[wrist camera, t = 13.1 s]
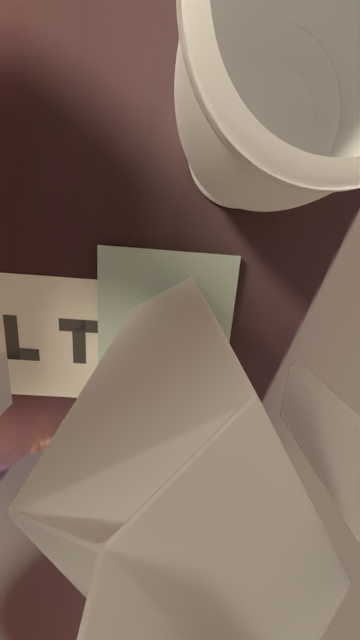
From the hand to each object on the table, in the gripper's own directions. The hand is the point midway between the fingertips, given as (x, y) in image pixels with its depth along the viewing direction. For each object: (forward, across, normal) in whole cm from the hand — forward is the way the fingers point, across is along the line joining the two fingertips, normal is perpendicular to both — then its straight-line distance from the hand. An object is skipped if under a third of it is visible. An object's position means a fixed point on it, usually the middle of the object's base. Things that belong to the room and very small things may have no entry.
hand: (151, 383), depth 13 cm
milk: (+12, +2, 0) cm, 12 cm away
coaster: (+13, 0, 0) cm, 13 cm away
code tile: (+13, -10, -3) cm, 17 cm away
